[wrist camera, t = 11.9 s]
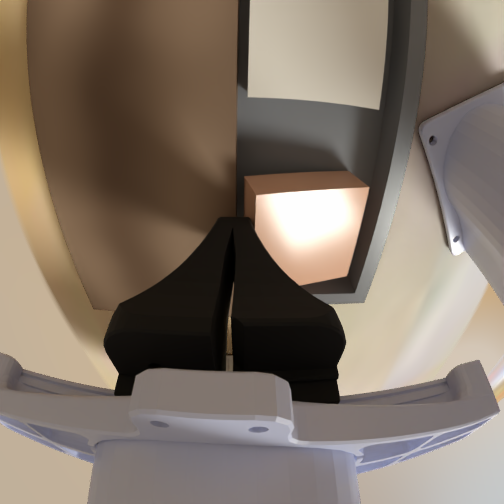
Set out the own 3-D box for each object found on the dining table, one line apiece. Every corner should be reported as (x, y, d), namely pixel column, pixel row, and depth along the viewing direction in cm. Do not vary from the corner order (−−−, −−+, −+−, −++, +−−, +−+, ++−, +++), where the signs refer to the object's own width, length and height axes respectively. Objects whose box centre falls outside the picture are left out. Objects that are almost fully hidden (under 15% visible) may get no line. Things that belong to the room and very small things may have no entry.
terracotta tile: (348, 170, 13) (369, 187, 12) (331, 255, 16) (346, 276, 15) (244, 176, 12) (256, 195, 11) (243, 269, 15) (252, 294, 14)
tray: (405, -29, 7) (426, -37, 6) (355, 279, 18) (364, 302, 16) (241, -58, 7) (240, -75, 5) (237, 279, 18) (236, 304, 16)
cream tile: (370, -1, 8) (388, -7, 7) (363, 102, 11) (378, 110, 10) (250, -17, 8) (251, -28, 7) (247, 91, 11) (247, 97, 10)
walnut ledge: (242, -74, 6) (241, -92, 5) (237, 292, 18) (236, 316, 17) (54, -34, 6) (32, -39, 5) (103, 287, 18) (93, 309, 17)
